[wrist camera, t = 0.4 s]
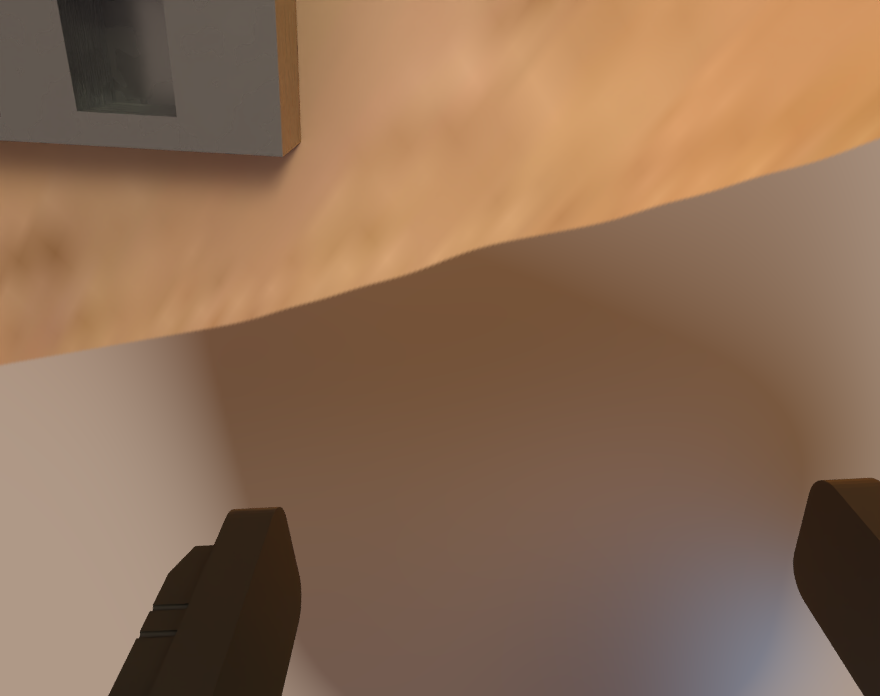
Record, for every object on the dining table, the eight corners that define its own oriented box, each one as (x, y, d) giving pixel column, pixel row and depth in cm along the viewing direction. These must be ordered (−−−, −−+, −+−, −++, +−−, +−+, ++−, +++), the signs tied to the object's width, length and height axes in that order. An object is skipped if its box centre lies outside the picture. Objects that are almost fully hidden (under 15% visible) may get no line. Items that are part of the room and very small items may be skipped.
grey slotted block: (-178, -64, 30) (-274, -78, 26) (294, -32, 31) (272, -42, 27) (-121, 116, 33) (-198, 128, 29) (301, 141, 34) (282, 156, 30)
